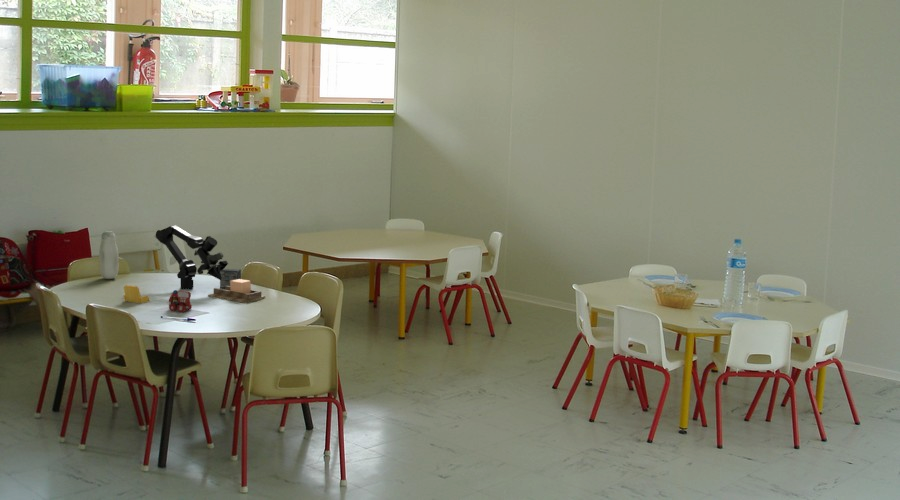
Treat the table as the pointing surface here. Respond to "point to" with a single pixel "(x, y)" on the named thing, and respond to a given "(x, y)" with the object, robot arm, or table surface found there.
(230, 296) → the tray
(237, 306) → the table surface
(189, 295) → the toy fire truck
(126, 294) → the yellow l-shaped block
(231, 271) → the small box
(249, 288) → the slider block
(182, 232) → the robot arm
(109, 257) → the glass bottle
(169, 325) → the table surface
